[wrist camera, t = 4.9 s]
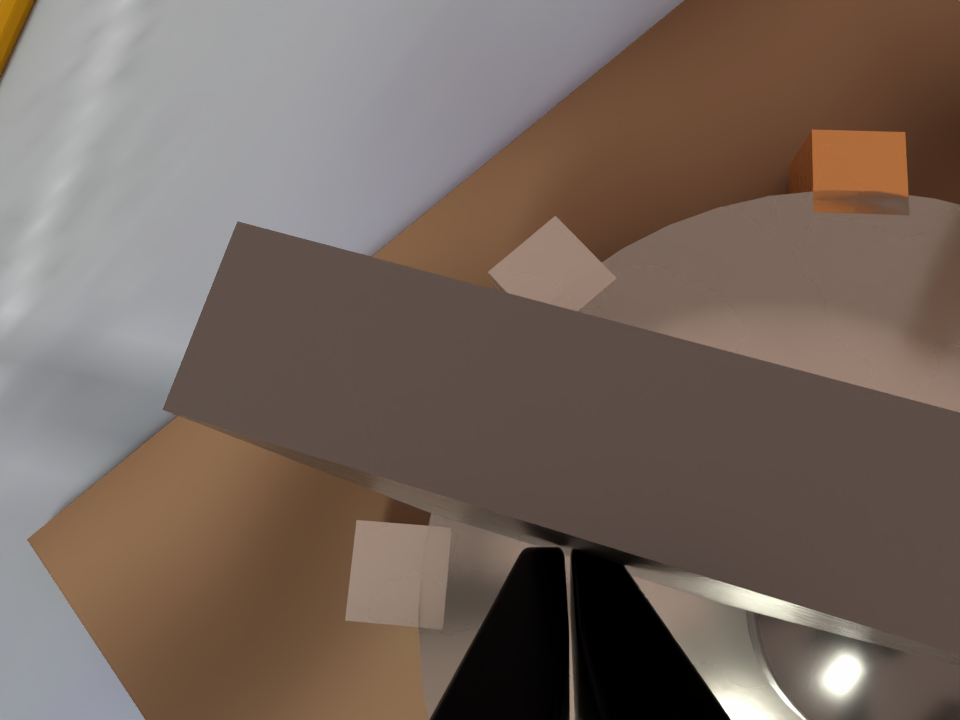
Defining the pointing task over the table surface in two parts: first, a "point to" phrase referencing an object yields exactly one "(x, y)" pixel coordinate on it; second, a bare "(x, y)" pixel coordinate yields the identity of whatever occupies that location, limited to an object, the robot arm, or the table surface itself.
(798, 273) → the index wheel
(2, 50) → the mechanical gear assembly
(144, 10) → the table surface
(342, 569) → the base board
